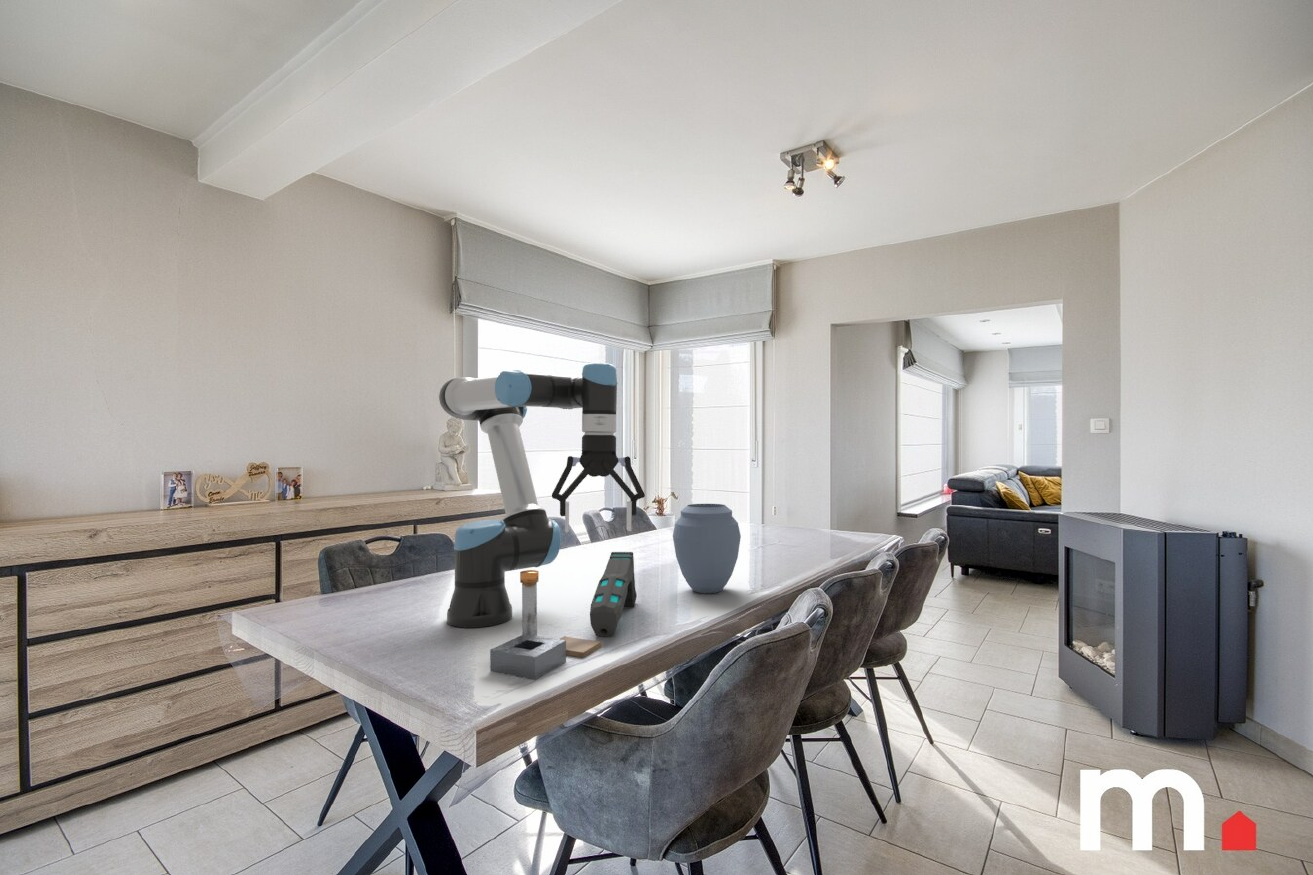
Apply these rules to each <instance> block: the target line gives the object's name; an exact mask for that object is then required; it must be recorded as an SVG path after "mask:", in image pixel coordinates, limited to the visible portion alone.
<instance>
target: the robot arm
mask: <svg viewBox="0 0 1313 875" xmlns="http://www.w3.org/2000/svg"><path fill="white" fill-rule="evenodd" d="M617 375H618V374H617V368H616V366H615V365H613V363H612V364H611V363H606V362H605V363H604V362H589V363H585V364H584V365H583V366H582V372H581V374H580V375H568V374H567V375H565V374H558V373H557V374H554V373H553V374H552V373H543V372H542V373H541V372H533V371H531V372H530V371H522V370H517V369H516V370H515V369H514V370H503V371H501V372H500V373H499V374H498V375H495V376H490V377H489V376H488V377H482V378H478V377H477V378H476V377H469V376H468V377H467V376H466V377H464V376H463V377H456V378H451V379H450V380H448V381H446V382H444V384H443V385H442V386H441V388H440V390H439V394H438V401H439V404H440V406H441V408H442V410H443V411H444V412H445V413H446V414H448V415H449V416H451V417H453V418H455V419H459V420H462V421H463V420H464V421H477V422H478V423H479V427H480V430H481V431H482V432H483V433H484V434H487V437H488V440H489V445H490V450H491V454H492V459H493V462H494V468H495V473H496V476H497V480H498V485H499V490H500V495H501V499H502V503H503V504H502V505H503V508H504V512H505V515H504V516H503V518H502V519H500V518H490V519H483V520H476V521H471V522H468V523H464V524H461V526H459V527H458V528H457V529H456V531H455V532H454V543H453V550H454V590H453V593H452V597H451V600H450V604H449V606H448V607H449V608H448V609H447V611H446V623H447V624H448V625H450V626H452V627H457V628H466V629H467V628H469V629H470V628H473V629H474V628H483V627H491V626H495V625H500V624H503V623H505V622H507V621H510V620H511V619H512V617H513V606H512V604H511V602H510V598H509V595H508V590H507V589H506V581H505V580H506V578H505V577H506V572H509V571H510V572H511V571H518V570H523V569H529V568H540V567H541V566H547V565H550V564H551V563H553V562H554V561H555V560H556V558H557V557H558V555H559V553H560V549H561V545H562V535H561V534H562V533H561V529H560V528H561V527H560V526H559V524H558V523H557V521H556V520H554V519H550V518H548V516H547V511H546V509H544V508H542V507H540V505H539V504H538V498H537V494H536V491H535V487H534V484H533V479H532V475H531V474H532V473H531V471H530V468H529V462H528V458H527V455H526V450H525V446H524V442H523V439H522V434H521V429H520V427H521V426H522V424H523V422H524V418H525V417H526V415H527V413H528V407H534V408H535V407H536V408H537V407H540V408H555V409H556V408H557V409H563V410H573V409H582V410H581V432H582V433H584V434H583V435H582V436H581V455H580V457H577V456H573V455H568V456H567V460H566V466H565V467H564V470H563V472H562V474H561V475H560V478H559V479H558V482H557V484H556V485H555V487H554V490H553V491H552V493H551V497H552V499H554V500H558V501H559V515H560V517H564V532H565V533H569V530H570V501H569V500H567V499H568V498H569V497H570V495H571V494H572V493H574V491H575V490H576V489H577V488H578V486H579V485H580V484H581V483H582V482H583V480H585V479H586V478H587V476H589V477H594V478H595V477H603V478H605V477H608V476H610V477H612V479H613V480H614V481H615V482H616V483H617V485H618V486H619V487H620V488H621V489H622V490H623V492H624V493H625V494H626V495H627V496H628V498H629V500H628V499H626V531H627V532H632V516H636V514H637V502H638V500H640V499H644V498H645V497H646V495H645V492H644V490H643V488H642V486H641V483H640V482H639V480H638V477H637V476H636V473H635V472H634V470H633V467H632V461H631V457H630V456H628V455H625V456H622V457H621V456H620V457H618V456H617V437H616V435H614V433H616V432H617V403H618V402H617V396H618V395H617V393H618V392H617V390H618V379H617V378H618V376H617ZM578 463H579V464H580V465H581V466H582V468H583V469H582V470H581V472H580V473H579V474H578V475H577V477H575V479H574V480H573V481H572V482H571V484H570V485H569V486H568V487H567V488H566V489H565V490H564V492H562V494H561V493H560V492H561V490H562V489H563V487H564V485H565V483H566V481H567V479H568V477H569V475H570V473H571V471H572V468H573V467H576V466H577V464H578ZM618 463H620V465H621V466H622V467H623V468H624V469H625V471H626V473H627V475H628V478H629V479H630V482H631V483H632V486H633V488H634V489H635V492H636V493H634V491H632V490H631V488H630V487H629V486H628V485H627V483H625V481H624V480H623V479H622V477H620V475H619V474H618V473H617V471H616V470H615V467H616V466H617V465H618Z"/></svg>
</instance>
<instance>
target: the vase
mask: <svg viewBox="0 0 1313 875" xmlns="http://www.w3.org/2000/svg"><path fill="white" fill-rule="evenodd" d="M741 536H742V535H741V531H740V526H739V523H738V521H737V520H736V519H735V517H734V516H733V510H732V509H731V508H729V507H728V506H726V504H721V503H693V504H688V505H686V506H684V508H682V509H681V510H680V517H679V518H678V519H677V520H676V521H675V523H674V528H673V534H672V540H673V546H674V554H675V557H676V560H677V564H678V566H679V569H680V571H681V574H682V576H683V578H684V579H685V582H686V583H687V585H688V586H689V587H690V588H691V590H692V591H695V592H696V593H698V594H710V595H711V594H717V593H719V592H721V591H723V589H725V588H726V585H727V584H728V583H729V580H730V579H731V577H732V575H733V573H734V571H735V567H736V565H737V561H738V558H739V551H740V545H741Z"/></svg>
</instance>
